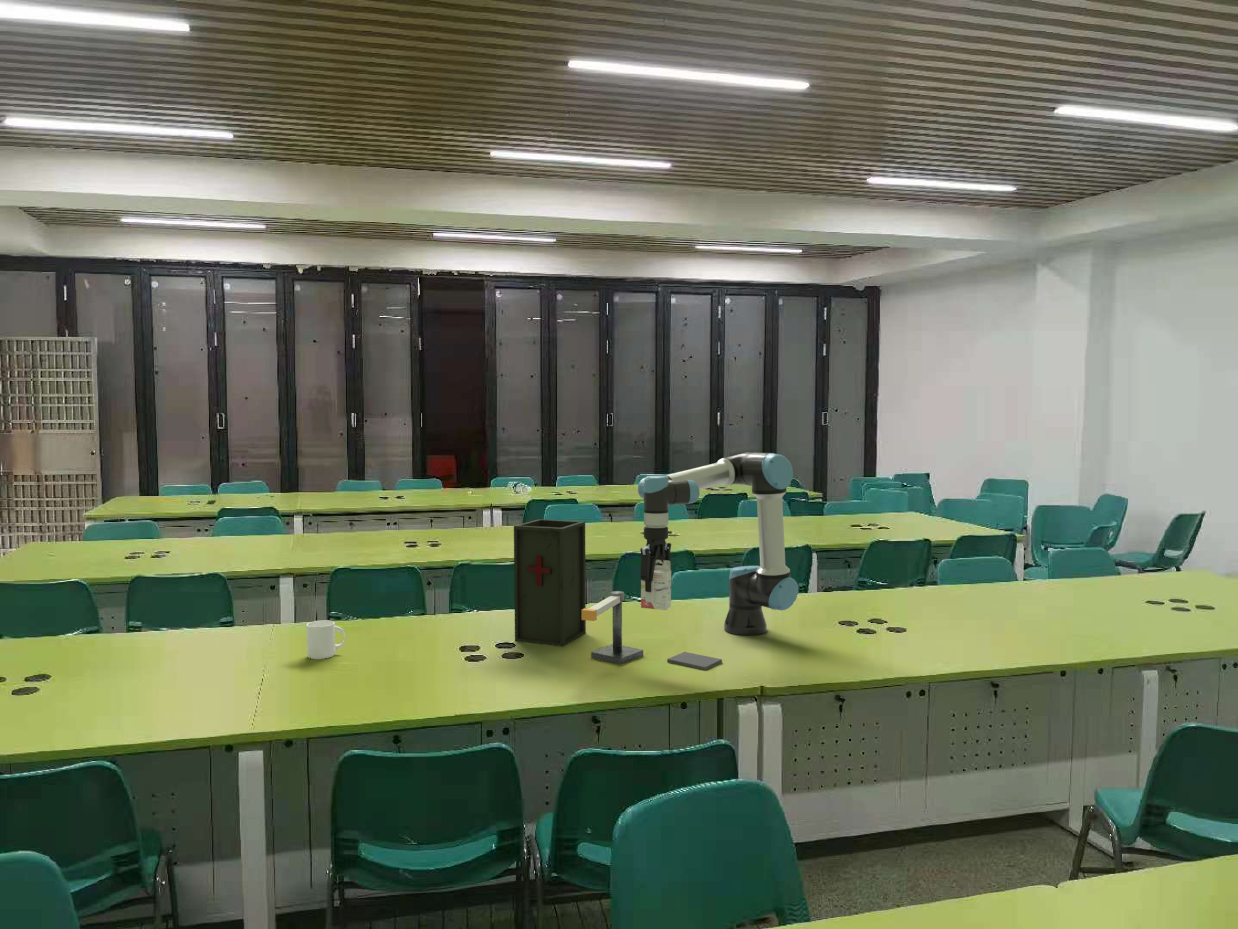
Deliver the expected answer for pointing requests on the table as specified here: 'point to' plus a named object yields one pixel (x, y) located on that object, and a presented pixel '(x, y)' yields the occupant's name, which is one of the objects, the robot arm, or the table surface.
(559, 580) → the first aid box
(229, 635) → the table surface
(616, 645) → the arm post
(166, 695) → the table surface
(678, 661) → the rubber mat
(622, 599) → the bar
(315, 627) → the mug
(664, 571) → the ink cartridge box
